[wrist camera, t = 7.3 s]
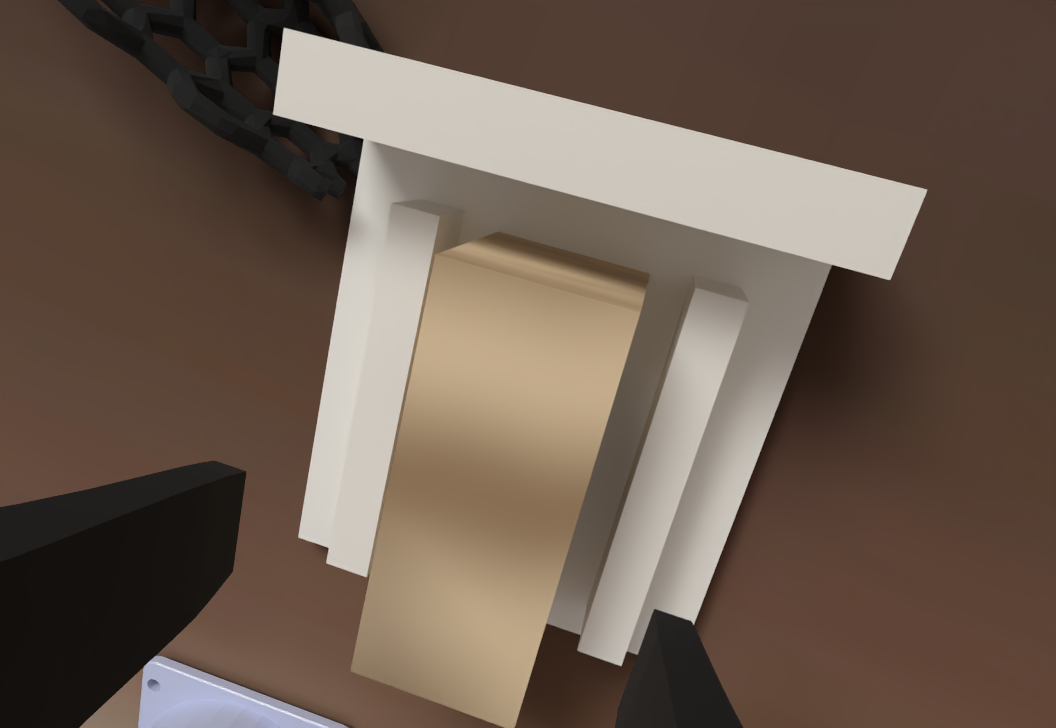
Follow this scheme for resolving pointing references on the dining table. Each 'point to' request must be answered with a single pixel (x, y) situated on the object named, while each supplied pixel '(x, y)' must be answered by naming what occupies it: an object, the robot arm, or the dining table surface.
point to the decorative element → (214, 91)
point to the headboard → (602, 233)
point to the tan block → (492, 467)
